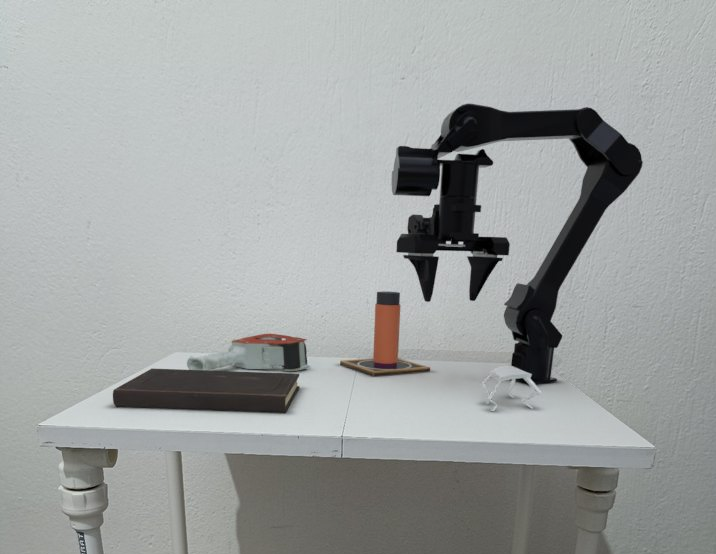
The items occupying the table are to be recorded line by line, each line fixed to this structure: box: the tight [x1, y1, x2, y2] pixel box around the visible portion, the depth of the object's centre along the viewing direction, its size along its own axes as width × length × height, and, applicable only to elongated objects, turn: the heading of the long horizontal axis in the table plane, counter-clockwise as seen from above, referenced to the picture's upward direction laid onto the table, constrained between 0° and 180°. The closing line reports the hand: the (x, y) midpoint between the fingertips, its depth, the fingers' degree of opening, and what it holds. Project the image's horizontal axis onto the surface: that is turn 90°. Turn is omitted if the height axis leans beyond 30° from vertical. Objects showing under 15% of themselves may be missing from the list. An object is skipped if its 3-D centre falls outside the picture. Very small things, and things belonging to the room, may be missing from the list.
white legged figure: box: [481, 365, 543, 412], centre depth 96 cm, size 12×8×5 cm
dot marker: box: [372, 290, 401, 369], centre depth 117 cm, size 4×4×13 cm
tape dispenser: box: [186, 333, 310, 373], centre depth 117 cm, size 18×5×20 cm
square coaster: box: [339, 357, 431, 377], centre depth 121 cm, size 12×12×1 cm
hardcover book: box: [112, 368, 300, 414], centre depth 95 cm, size 16×23×2 cm
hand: (450, 301), depth 108 cm, fingers open, 9 cm apart
